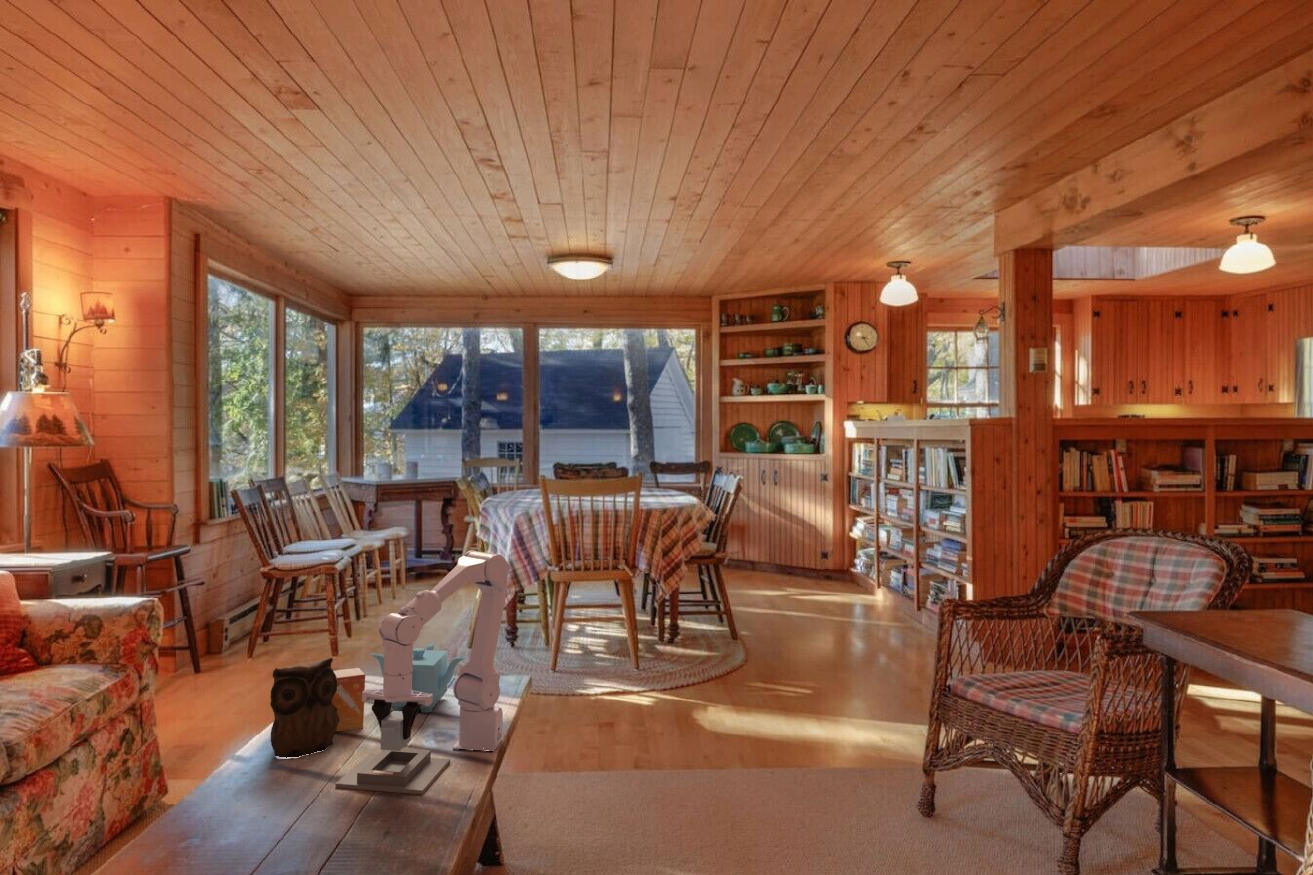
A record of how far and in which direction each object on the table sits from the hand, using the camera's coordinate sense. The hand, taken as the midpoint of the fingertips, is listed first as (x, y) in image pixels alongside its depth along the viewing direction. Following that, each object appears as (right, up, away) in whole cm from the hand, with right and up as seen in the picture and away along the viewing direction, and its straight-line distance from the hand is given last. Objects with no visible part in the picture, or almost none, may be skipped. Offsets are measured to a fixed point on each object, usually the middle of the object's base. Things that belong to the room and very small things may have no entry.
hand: (396, 736), depth 177 cm
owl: (-25, -7, +13) cm, 29 cm away
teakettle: (-8, -7, +44) cm, 45 cm away
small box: (-21, -7, +26) cm, 34 cm away
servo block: (0, -2, 0) cm, 2 cm away
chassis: (0, -8, 0) cm, 8 cm away
